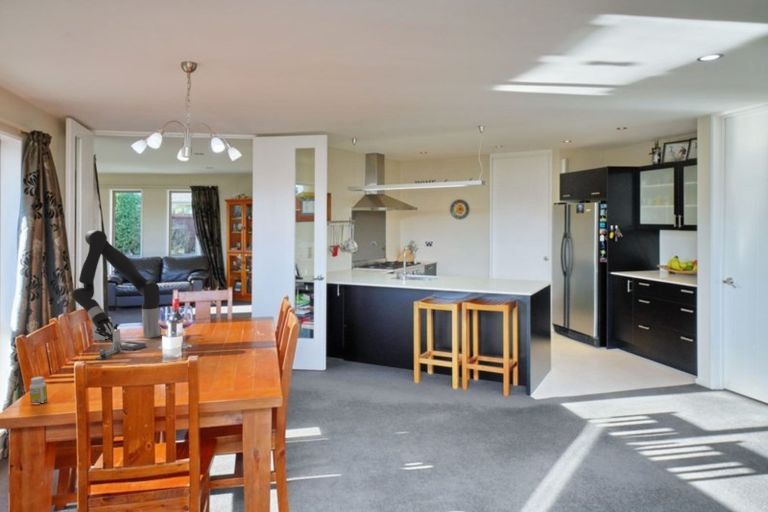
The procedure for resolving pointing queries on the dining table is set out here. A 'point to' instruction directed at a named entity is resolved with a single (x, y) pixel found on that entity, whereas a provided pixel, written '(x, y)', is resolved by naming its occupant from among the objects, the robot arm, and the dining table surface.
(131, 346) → the server lid
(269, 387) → the dining table surface
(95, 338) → the supplement box
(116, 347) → the cable arm
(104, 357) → the hinge foot
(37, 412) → the dining table surface
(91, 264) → the robot arm
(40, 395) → the supplement bottle
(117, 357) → the dining table surface
